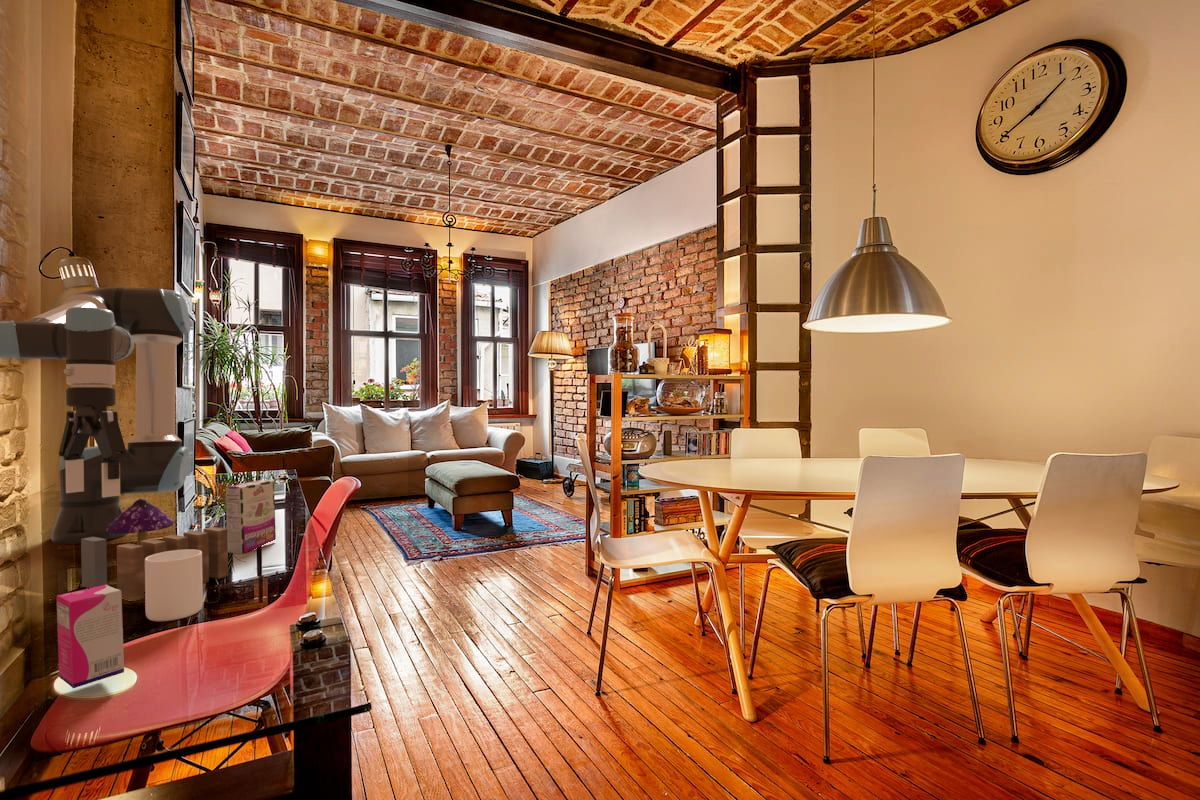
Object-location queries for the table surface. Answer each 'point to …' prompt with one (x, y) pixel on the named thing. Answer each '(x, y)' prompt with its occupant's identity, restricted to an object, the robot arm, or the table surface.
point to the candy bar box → (250, 515)
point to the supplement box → (90, 635)
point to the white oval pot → (173, 584)
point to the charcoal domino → (93, 562)
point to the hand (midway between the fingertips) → (92, 494)
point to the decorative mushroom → (140, 520)
